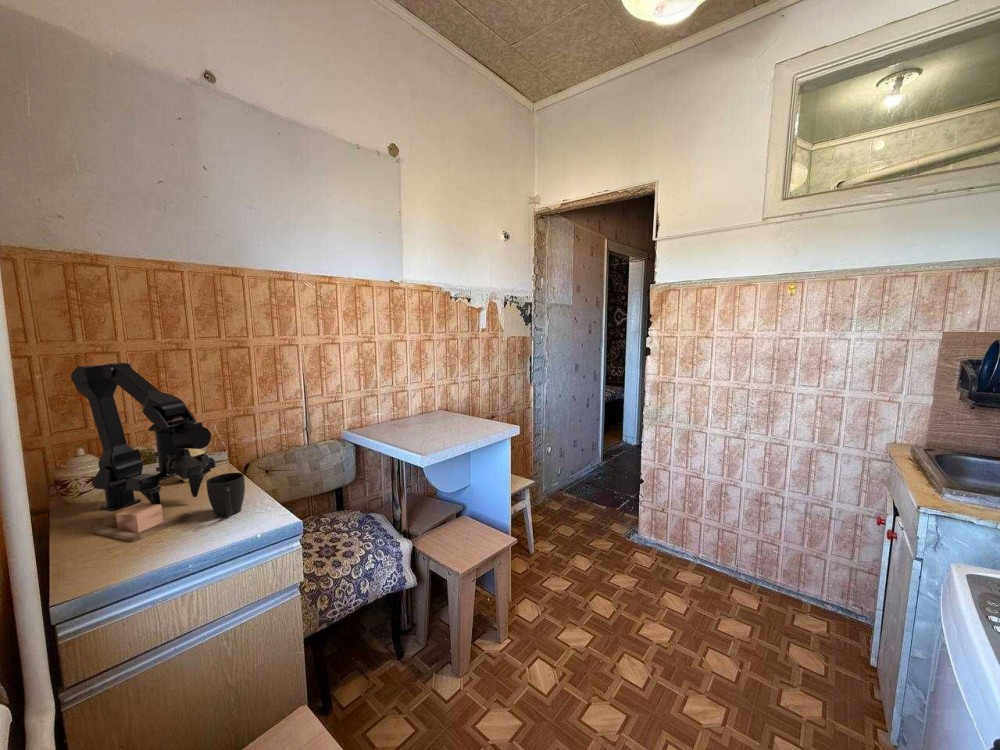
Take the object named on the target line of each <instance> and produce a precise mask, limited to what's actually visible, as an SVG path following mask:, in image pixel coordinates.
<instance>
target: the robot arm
mask: <svg viewBox="0 0 1000 750" xmlns="http://www.w3.org/2000/svg"><path fill="white" fill-rule="evenodd" d="M70 380H71V381H72V382H73V385H74V387H75V389H76V391H77V392H78V393H79V394H80V395H82V396H83V397H85V399H87V401H88V402H89V406H90V407H89V408H90V410H91V413H92V417H93V420H94V423H95V427H96V430H97V433H98V437H99V440H100V444H101V447H102V453H101V456H100V458H99V459H98V463H97V464H98V469H99V470H98V472H97V473H96V474H95V476H94V477H93V479H92V480H91V484H92V486H93V488H94V489H95V490H104V497H105V503H104V504H101V505H99V508H100V509H105V510H110V511H116V510H120V509H124V508H125V507H129V506H131V505H134V504H137V503H139V502H141V501H142V499H141V498H135V493H134V492H140V493H141V494H142V495H144V497H145V498H146V499H147V500H148V501H149V504H160V505H162V501H161V497H160V491H161V490H162V486H159V484H160V481H163V480H167V479H170V478H173V477H174V476H176V475H179V476H180V477H181V478H183V479H189V481H188V483H189V489H190V492H191V495H192V498H196V497H198V494H199V491H200V488H201V485H202V482H203V479H204V477H205V476H206V475H207V474H208V473H209V472H210V473H211V471H212V469H214V468H216V466H217V465H216V464H217V463H216V460H215V459H214V458H213V457H209V455H208V454H207V453H203V454H200V455H197V456H193V457H192V456H191V455H190V451H189V449H201V450H203V449H204V448H207V446H208V445H209V444H210V442H211V441H212V432H211V431H210V430H209V429H208V428H207V427H205V426H203V422H202V421H200V422H199V421H197V420H196V418H195V415H194V414H193V413H192V412H191V410H190V409H189V408H188V407H187V405H186V404H185V402H184V401H183V400H182V399H181V398H179V397H177V396H175V395H173V394H170V393H167V392H162V391H161V390H159V389H158V388H157V387H155V386H154V385H153V384H152V383H150V382H149V381H148V380H147V379H146V378H144V377H143V376H142V375H140V374H139V373H138V372H137V371H136V370H135V369H134V368H133V367H132V365H131V364H130V363H128V362H124V361H122V362H114V363H111V362H110V363H107V364H95V365H94V364H93V365H92V364H91V365H84V366H83V365H81V366H77V367H75V368H74V370H73V371H72V372H71V373H70ZM118 386H119V387H120V388H121V389H122V390H124V392H126V393H127V394H128V395H130V396H131V397H132V398H133V399H134V400H136V401H137V402H138V403H139V404H140V405H141V407H142V413H143V415H144V416H145V417H146V418H147V419H148V420H149V422H151V423H152V425H150V426H149V427H148V429H147V430H148V431H149V432H155V433H154V434H155V444H156V451H155V452H153V454H154V455H153V456H154V457H157V459H158V466H157V467H155V471H156V472H159V473H155V474H151V473H143V469H144V468H143V467H144V464H143V463H144V460H143V459H142V456H141V451H140V450H139V449H138V448H136V449H134V448H133V447H131V446H130V445H129V444H128V441H127V439H126V438H127V437H126V434H125V432H124V431H125V430H124V428H123V425H122V421H121V417H120V414H119V411H118V407H117V404H116V400H115V397H114V394H115V392H116V390H117V387H118ZM185 448H189V449H185Z"/></svg>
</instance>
